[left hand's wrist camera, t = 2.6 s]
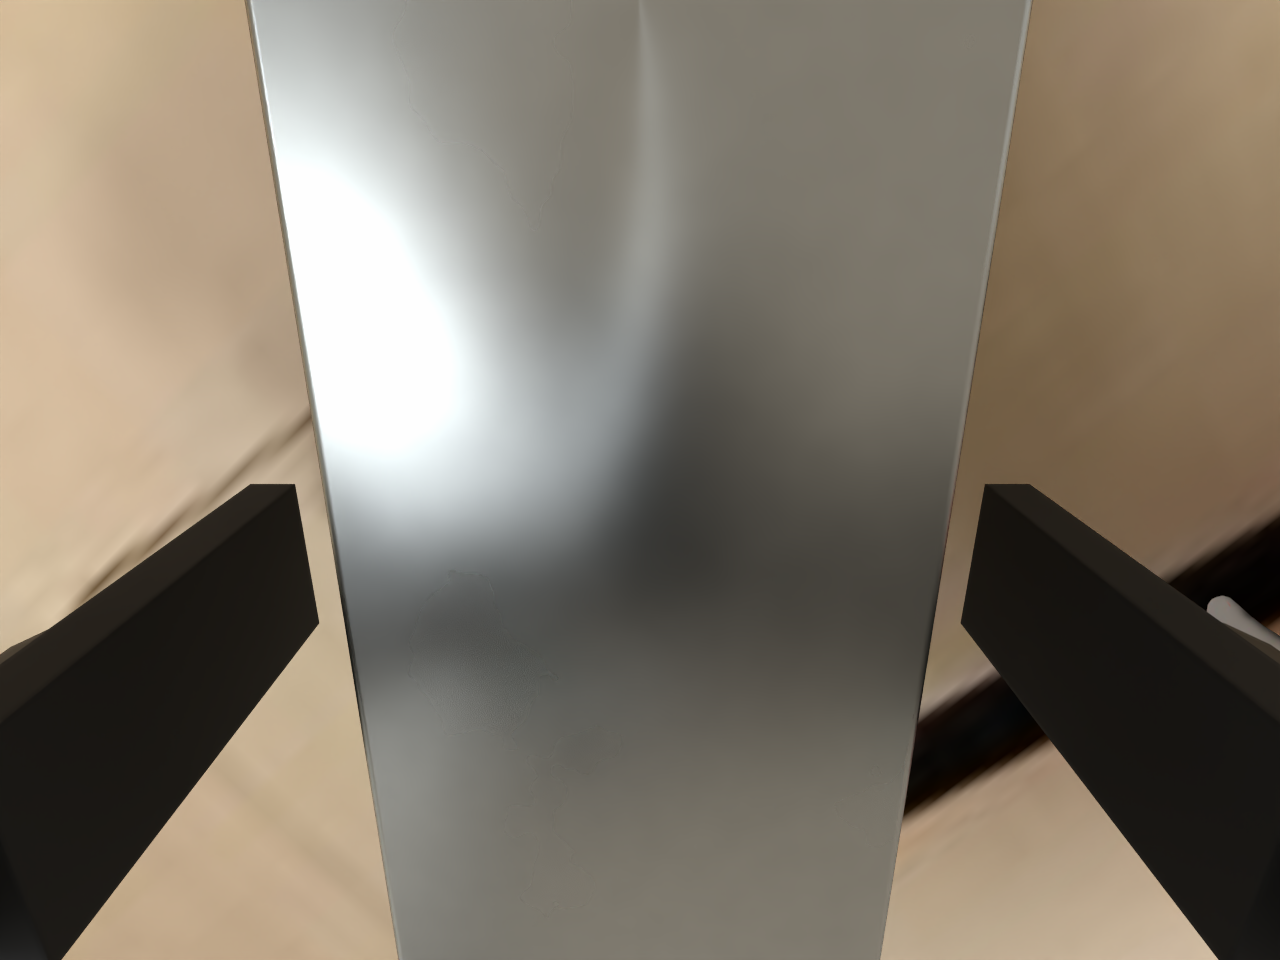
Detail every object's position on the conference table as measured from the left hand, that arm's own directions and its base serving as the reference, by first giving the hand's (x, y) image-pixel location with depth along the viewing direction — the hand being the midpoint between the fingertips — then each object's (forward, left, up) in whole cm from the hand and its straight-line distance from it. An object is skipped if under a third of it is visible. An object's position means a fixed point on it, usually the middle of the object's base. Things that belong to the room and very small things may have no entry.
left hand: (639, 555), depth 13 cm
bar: (+7, 0, -2) cm, 7 cm away
